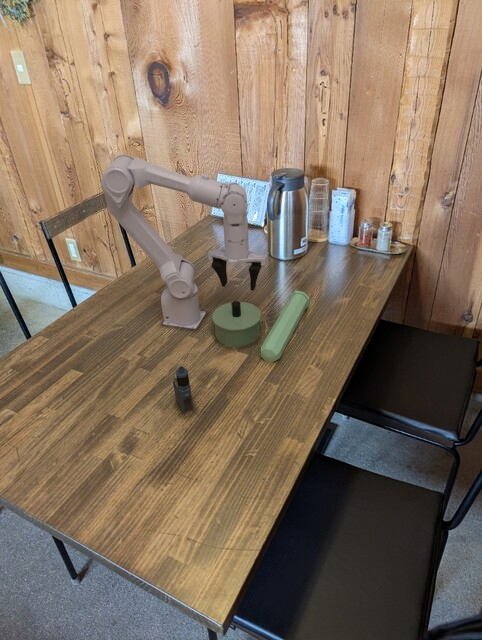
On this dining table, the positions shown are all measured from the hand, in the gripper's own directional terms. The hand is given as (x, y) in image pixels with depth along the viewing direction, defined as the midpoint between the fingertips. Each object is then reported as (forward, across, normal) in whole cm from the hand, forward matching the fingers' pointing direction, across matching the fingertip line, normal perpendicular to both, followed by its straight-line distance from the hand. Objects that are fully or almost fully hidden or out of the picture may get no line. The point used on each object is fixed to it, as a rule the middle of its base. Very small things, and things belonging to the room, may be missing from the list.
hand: (238, 286), depth 114 cm
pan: (+10, +2, -7) cm, 12 cm away
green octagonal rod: (+10, +13, -4) cm, 17 cm away
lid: (+4, +2, -7) cm, 8 cm away
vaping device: (+10, -1, -34) cm, 36 cm away
